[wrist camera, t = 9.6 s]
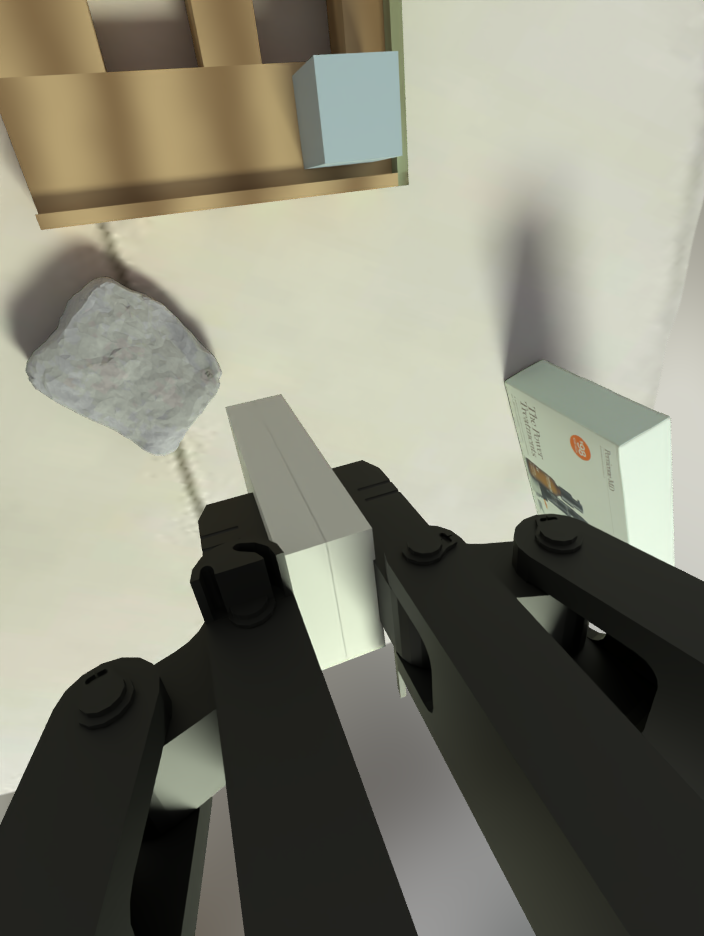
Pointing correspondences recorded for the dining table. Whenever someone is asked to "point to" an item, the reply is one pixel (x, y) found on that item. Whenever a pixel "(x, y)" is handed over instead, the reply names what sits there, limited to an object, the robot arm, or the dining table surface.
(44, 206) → the trap box
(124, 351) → the stone block
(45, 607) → the dining table surface
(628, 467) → the skincare box
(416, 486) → the dining table surface
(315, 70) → the block
